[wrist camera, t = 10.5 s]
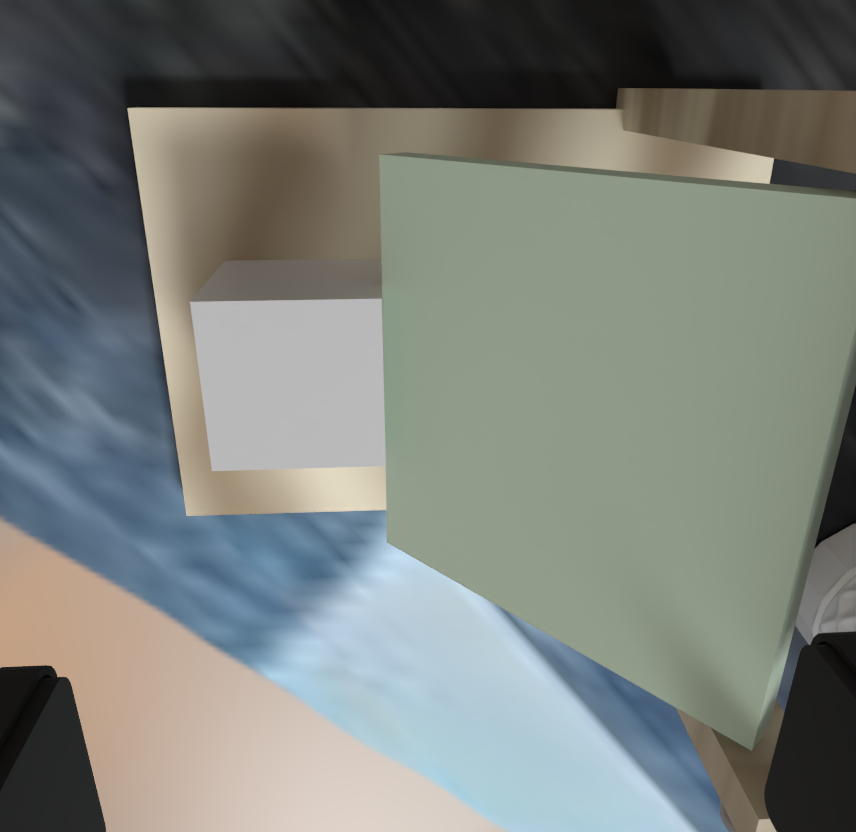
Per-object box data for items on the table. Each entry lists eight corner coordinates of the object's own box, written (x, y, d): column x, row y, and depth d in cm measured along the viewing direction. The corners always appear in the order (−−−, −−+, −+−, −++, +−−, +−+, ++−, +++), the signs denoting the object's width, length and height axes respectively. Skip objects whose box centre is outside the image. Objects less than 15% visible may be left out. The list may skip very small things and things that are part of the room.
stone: (381, 298, 20) (190, 301, 20) (385, 465, 22) (212, 471, 22) (380, 258, 24) (224, 260, 24) (383, 400, 26) (240, 403, 26)
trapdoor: (1578, 227, 10) (1754, 295, 7) (1200, 843, 15) (1194, 1057, 12) (478, 146, 22) (350, 156, 19) (467, 498, 27) (364, 554, 24)
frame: (775, 61, 24) (1322, 30, 10) (696, 517, 31) (958, 869, 17) (129, 56, 23) (-248, 13, 9) (197, 533, 29) (42, 927, 16)
